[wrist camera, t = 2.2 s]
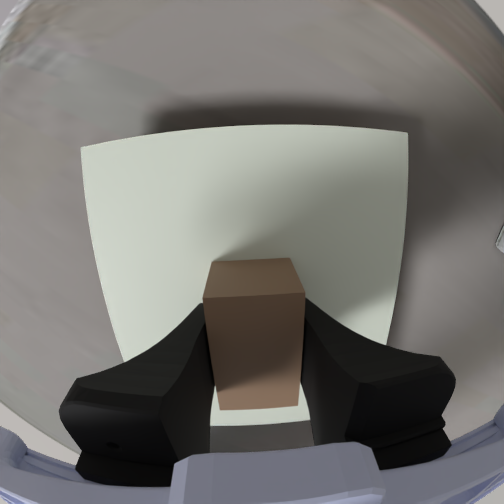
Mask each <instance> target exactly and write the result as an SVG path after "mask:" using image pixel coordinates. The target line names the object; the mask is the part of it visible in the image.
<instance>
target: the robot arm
mask: <svg viewBox="0 0 504 504" xmlns="http://www.w3.org/2000/svg"><path fill="white" fill-rule="evenodd" d="M455 382H456V379H455V376H454V374H453V372H452V371H451V370H450V369H449V367H448V366H447V365H446V364H445V362H444V361H443V360H442V359H441V358H440V357H438V356H431V355H423V354H417V353H412V352H407V351H403V350H399V349H396V348H392V347H389V346H386V345H384V344H381V343H378V342H375V341H373V340H371V339H368V338H366V337H364V336H362V335H360V334H358V333H356V332H354V331H352V330H351V329H349V328H347V327H346V326H344V325H343V324H341V323H339V322H338V321H336V320H335V319H333V318H332V317H331V316H329V315H328V314H327V313H325V312H324V311H323V310H321V309H320V308H319V307H318V306H316V305H315V304H314V303H313V302H311V301H310V300H309V299H307V298H306V297H305V315H304V334H303V350H302V364H301V377H300V383H301V386H302V389H303V392H304V395H305V398H306V402H307V406H308V410H309V415H310V421H311V426H312V432H313V438H314V445H315V446H311V447H303V448H295V449H285V450H274V451H260V452H231V453H216V452H215V453H209V449H210V418H211V407H212V401H213V395H214V389H215V380H214V374H213V368H212V362H211V356H210V349H209V343H208V336H207V329H206V322H205V314H204V307H203V303H199V304H198V305H197V306H196V307H195V308H194V309H193V310H192V312H191V313H190V314H189V315H188V316H187V317H186V318H185V319H184V320H183V321H182V322H181V323H180V324H179V325H178V326H177V327H176V328H175V329H173V330H172V331H171V332H170V333H169V334H168V335H167V336H166V337H164V338H163V339H162V340H161V341H159V342H158V343H157V344H155V345H154V346H152V347H151V348H149V349H148V350H146V351H145V352H143V353H141V354H139V355H137V356H135V357H134V358H132V359H130V360H128V361H126V362H124V363H122V364H119V365H117V366H115V367H112V368H110V369H107V370H104V371H101V372H98V373H95V374H91V375H88V376H84V377H80V378H77V379H76V380H75V382H74V383H73V385H72V387H71V388H70V390H69V392H68V394H67V395H66V397H65V399H64V400H63V402H62V404H61V406H60V409H59V415H60V419H61V421H62V423H63V425H64V427H65V428H66V430H67V431H68V433H69V434H70V435H71V437H72V438H73V439H74V441H75V442H76V444H77V445H78V446H79V447H80V449H81V450H82V452H81V455H80V457H79V459H78V462H77V464H76V465H72V464H69V463H66V462H63V461H60V460H57V459H54V458H52V457H49V456H46V455H43V454H41V453H38V452H36V451H33V450H31V449H29V448H27V446H26V444H25V443H24V442H23V441H22V439H20V437H19V436H17V435H16V434H15V433H13V432H12V431H10V430H7V429H5V428H3V427H1V426H0V497H1V498H2V499H3V500H4V501H6V502H7V503H8V504H474V503H475V502H477V501H479V500H480V499H482V498H483V497H485V496H486V495H487V494H489V493H490V492H492V491H493V490H494V489H496V488H497V487H499V486H500V485H501V484H503V483H504V404H503V405H502V406H501V408H500V409H499V410H498V412H497V413H496V415H495V417H494V419H493V420H491V421H490V422H488V423H486V424H484V425H482V426H481V427H479V428H477V429H475V430H473V431H471V432H469V433H467V434H465V435H463V436H461V437H459V438H457V439H454V440H452V441H450V440H449V439H448V437H447V435H446V433H445V432H444V430H443V428H444V426H445V421H444V419H443V418H442V416H441V415H442V413H443V411H444V410H445V408H446V406H447V404H448V402H449V400H450V398H451V396H452V394H453V391H454V388H455Z"/></svg>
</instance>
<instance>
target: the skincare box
mask: <svg viewBox="0 0 504 504" xmlns="http://www.w3.org/2000/svg"><path fill="white" fill-rule="evenodd" d="M496 247H497V248H498V249H499V250H500V251H501V252H503V253H504V226H503V228H502V231H501V233H500V235H499V237H498V239H497V242H496Z"/></svg>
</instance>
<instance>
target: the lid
mask: <svg viewBox="0 0 504 504" xmlns="http://www.w3.org/2000/svg"><path fill="white" fill-rule="evenodd" d="M81 159H82V171H83V182H84V191H85V199H86V207H87V214H88V220H89V227H90V233H91V238H92V244H93V249H94V254H95V259H96V264H97V268H98V273H99V277H100V282H101V286H102V290H103V294H104V298H105V301H106V305H107V309H108V312H109V316H110V319H111V323H112V326H113V329H114V333H115V336H116V339H117V342H118V345H119V348H120V351H121V354H122V357H123V360H124V362H126V361H128V360H130V359H132V358H134V357H135V356H137V355H139V354H141V353H143V352H145V351H146V350H148V349H149V348H151V347H152V346H154V345H155V344H157V343H158V342H159V341H161V340H162V339H163V338H164V337H166V336H167V335H168V334H169V333H170V332H171V331H172V330H173V329H175V328H176V327H177V326H178V325H179V324H180V323H181V322H182V321H183V320H184V319H185V318H186V317H187V316H188V315H189V314H190V313H191V312H192V310H193V309H194V308H195V307H196V306H197V305H198V304H199V303H203V307H204V314H205V322H206V329H207V336H208V343H209V349H210V356H211V362H212V368H213V374H214V380H215V389H214V395H213V401H212V407H211V418H210V426H239V425H261V424H275V423H286V422H296V421H305V420H310V415H309V410H308V406H307V402H306V398H305V395H304V392H303V389H302V386H301V383H300V377H301V364H302V350H303V334H304V315H305V297H306V298H307V299H309V300H310V301H311V302H313V303H314V304H315V305H316V306H318V307H319V308H320V309H321V310H323V311H324V312H325V313H327V314H328V315H329V316H331V317H332V318H333V319H335V320H336V321H338V322H339V323H341V324H343V325H344V326H346V327H347V328H349V329H351V330H352V331H354V332H356V333H358V334H360V335H362V336H364V337H366V338H368V339H371V340H373V341H375V342H378V343H381V344H384V345H386V342H387V338H388V333H389V329H390V324H391V320H392V315H393V310H394V304H395V299H396V293H397V287H398V281H399V275H400V268H401V260H402V252H403V244H404V234H405V223H406V210H407V193H408V133H405V132H398V131H389V130H380V129H370V128H358V127H344V126H326V125H246V126H227V127H213V128H201V129H191V130H181V131H173V132H165V133H157V134H150V135H144V136H137V137H131V138H126V139H120V140H115V141H109V142H104V143H99V144H95V145H90V146H86V147H81Z"/></svg>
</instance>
